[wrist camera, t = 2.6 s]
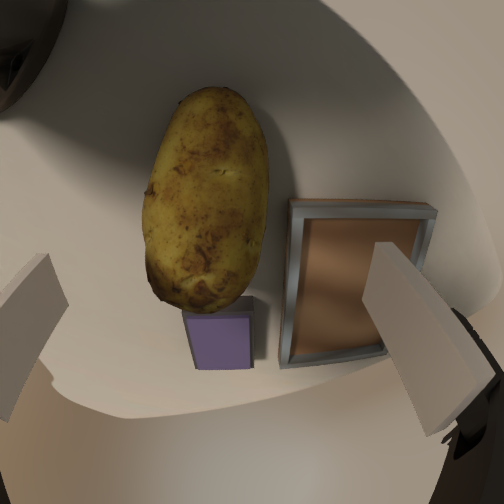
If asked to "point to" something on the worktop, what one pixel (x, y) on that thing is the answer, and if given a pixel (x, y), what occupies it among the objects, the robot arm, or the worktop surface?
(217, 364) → the ink pad
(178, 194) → the potato
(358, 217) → the metal baking tray
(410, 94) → the worktop surface
